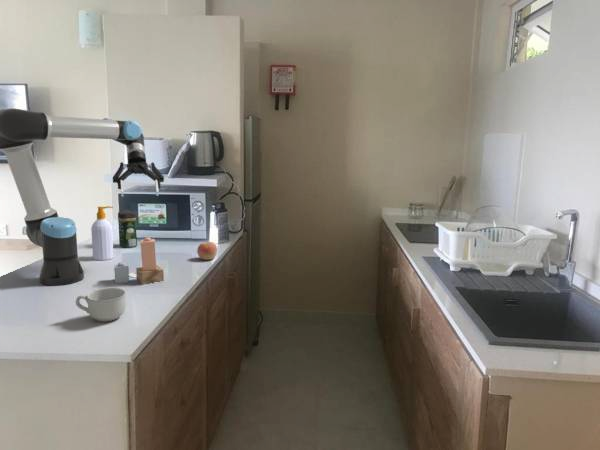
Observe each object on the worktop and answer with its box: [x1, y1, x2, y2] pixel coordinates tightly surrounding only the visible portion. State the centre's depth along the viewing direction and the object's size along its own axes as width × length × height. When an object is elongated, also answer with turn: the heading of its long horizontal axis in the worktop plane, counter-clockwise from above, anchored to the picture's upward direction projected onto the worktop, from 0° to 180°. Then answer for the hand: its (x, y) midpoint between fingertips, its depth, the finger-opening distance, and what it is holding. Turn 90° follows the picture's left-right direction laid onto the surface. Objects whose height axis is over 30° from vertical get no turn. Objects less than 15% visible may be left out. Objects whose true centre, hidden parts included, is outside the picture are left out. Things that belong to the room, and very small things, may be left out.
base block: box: [135, 265, 165, 286], centre depth 176 cm, size 8×8×5 cm
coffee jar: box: [117, 209, 138, 249], centre depth 232 cm, size 10×8×19 cm
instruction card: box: [129, 271, 137, 278], centre depth 184 cm, size 8×6×1 cm
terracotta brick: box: [140, 237, 157, 271], centre depth 174 cm, size 5×5×12 cm
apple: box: [196, 241, 218, 261], centre depth 209 cm, size 9×9×8 cm
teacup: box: [75, 287, 127, 323], centre depth 137 cm, size 14×11×8 cm
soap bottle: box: [90, 205, 114, 261], centre depth 206 cm, size 9×9×24 cm
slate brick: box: [113, 261, 130, 284], centre depth 175 cm, size 5×5×7 cm
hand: (140, 194), depth 186 cm, fingers open, 13 cm apart
